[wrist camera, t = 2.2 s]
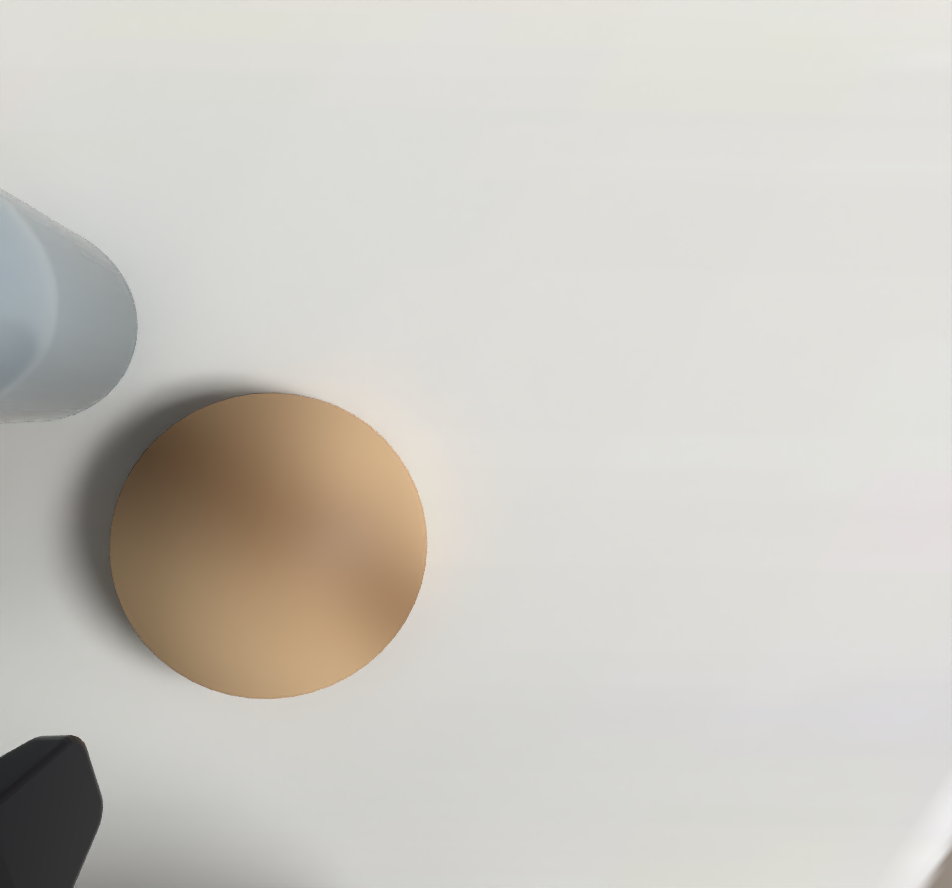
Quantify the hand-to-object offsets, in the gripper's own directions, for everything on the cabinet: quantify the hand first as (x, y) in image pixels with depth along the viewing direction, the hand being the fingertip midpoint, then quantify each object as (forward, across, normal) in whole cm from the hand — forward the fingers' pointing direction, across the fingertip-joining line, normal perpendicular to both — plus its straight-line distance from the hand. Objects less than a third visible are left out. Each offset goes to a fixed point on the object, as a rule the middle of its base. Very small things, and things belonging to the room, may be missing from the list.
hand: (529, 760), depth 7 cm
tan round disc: (+10, +6, +2) cm, 12 cm away
